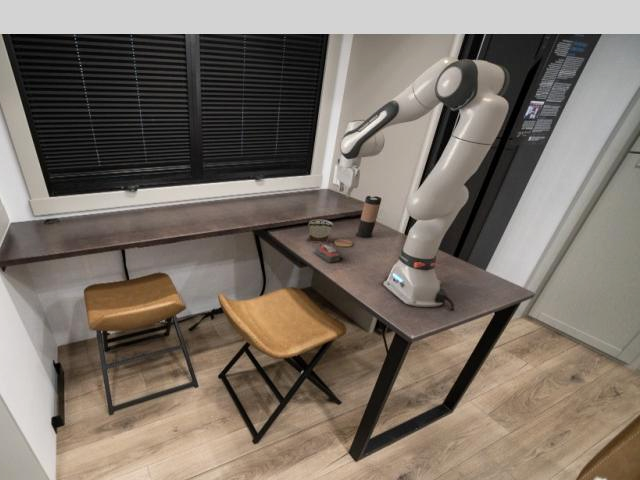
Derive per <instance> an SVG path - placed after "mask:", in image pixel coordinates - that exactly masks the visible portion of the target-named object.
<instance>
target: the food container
mask: <svg viewBox="0 0 640 480" xmlns="http://www.w3.org/2000/svg"><path fill="white" fill-rule="evenodd" d="M307 227H309V228H308V242H309V243H319V242H322V243H324V244H325V243H326V244H327V243H329V240H330V239H329V238H330V235H331V232H332V229H333V228H334V223H333V222H332V221H329V220H326V219H321V218H319V219H318V218H316V219H312V220H309V223H308V225H307Z"/></svg>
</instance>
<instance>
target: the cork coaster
mask: <svg viewBox="0 0 640 480" xmlns="http://www.w3.org/2000/svg"><path fill="white" fill-rule="evenodd" d="M333 243H334V245H336V246H338V247H341V248H350V247H352V246H353V241H350V240H349V239H344V238H337V239H334V241H333Z"/></svg>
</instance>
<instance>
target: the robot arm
mask: <svg viewBox="0 0 640 480" xmlns="http://www.w3.org/2000/svg"><path fill="white" fill-rule="evenodd" d="M510 80H511V78H510V73H509V71H508V70H507V68H505V67H504V66H502V65H501V64H497V63H492V62H489V61H486V60H482V59H470V58H469V59H467V58H465V59H458V58H456V57H454V56H445V57H443V58H441V59H439V60H438V61H436V62H435V63H434V64H433V65H431V66H430V67H429V68H427V69H426V70H425V71H424V72H423V73H421V74H420V75H419V76H418V77H417V78H416V79H415V80H414V81H413V82H411V83H410V84H409V85H408V86H407V87H406V88H405V89H404V90H402V91H401V92H400V93H399V94H398V95H396V96H395V97H393V98H392V99H391V100H390V101H388V102H387V103H385V104H384V105H383V106H381V107H380V108H379V109H377V110H376V111H375V112H373V113H372V114H371V115H370V116H369V117H368V118H366V119H357V120H352V121H350V122H349V123H348V124H347V126H346V129H345V131H344V135H343V137H342V138H341V140H340V144H339V151H340V154H341V155H340V156H339V157H338V158H337V161H336V162H337V165H336V166H337V167H336V176H335V177H336V180H337V181H338V185H339V187H338V191H339V192H340V193H341V192H344V191H345V186H346V187H347V188H346V189H347V190H346V191H345V197H347V198H350V197H351V194H352V192H353V190H354V189H358V187H359V185H360V179H361V178H360V177H361V170H360V169H359V168H360V167H361V162H362V158H368V157H369V158H370V157H375V156H377V155H379V154H380V153H381V152H382V151H383V149H384V147H385V136H384V134H383V132H381V131H382V130H384V129H386V128H388V127H391V126H394V125H398V124H405V123H410V122H415V121H417V120H419V119H421V118H422V117H425V116H426V115H427V114H428V113H430V112H431V111H432V110H434V109H435V108H436V107H438V105H440V104H441V103H442V104H443V105H445V106H446V107H447V108H448V109H450V110H451V112H457V111H459V115H460V116H459V120H458V122H457V125H456V127H455V128H454V130H453V132H452V134H451V136H450V138H449V140H448V142H447V144H446V146H445V148H444V150H443V152H442V154H441V156H440V157H439V159H438V161H437V162H436V164H435V166H433V168H432V170H431V171H430V172H429V174H428V175H427V177H426V178H425V180H424V181H423V182H422V184H421V185H420V186H419V187H418V189H416V190H415V192H414V193H412V194H411V195H410V197H409V198H408V200H407V203H406V210H407V213H408V215H409V216H410V217H411V219H414V220H415V223H414V224H413V225H412V226H411V227H410V229H409V231H408V233H407V235H406V238H405V242H404V245H403V248H401V250H400V251H399V255H398V260H397V262H396V263H395V264H394V265H393V267H392V268H391V271H390V272H389V276H388V277H387V280H385V281H383V286H384V287H386V289H388V290H389V291H390V292H391V293H392V294H394V295H395V296H396V297H397V298H398V299H399V300H401V301H402V302H403V303H404V304H406V305H409V306H412V307H419V308H435V307H440V306H442V305H443V304H444V303H445V302H446V301H447V302H448V303H449V305H450V311H455V305H454V302H453V300H452V298H450V297H448V294H447V292H446V290H445V289H443V288H441V286H440V285H441V284H442V283H441V282H442V281H441V280H440V279H438V276H437V273H436V271H435V267H437V265H438V262H437V253H438V251H439V249H440V246H441V243H442V241H443V239H444V237H445V235H446V233H447V231H448V230H449V229H450V227H451V225H452V224H453V222H454V221H455V219H456V217H457V216H458V214H459V212H460V211H461V210H462V208H463V207H464V206H465V205H466V203H467V202H468V200H469V198H470V197H469V196H470V192H469V190H468V187H467V186H466V185H465V184H466V182H468V180H469V179H470V178H471V177H472V176H473V175H474V174H475V173H476V172H477V171H478V169H479V167H480V166H481V164H482V162H483V161H484V159H485V157H486V156H487V154H488V152H489V150H490V149H491V147H492V145H493V144H494V142H495V141H496V138H497V137H498V135H499V133H500V130H501V129H502V126H503V124H504V121H505V120H506V117H507V114H508V111H509V106H510V105H509V102H508V101H507V99H506V98H504V97H503V96H504V94H505V93H506V91H507V90H508V87H509V85H510Z"/></svg>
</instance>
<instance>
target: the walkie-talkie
mask: <svg viewBox="0 0 640 480" xmlns="http://www.w3.org/2000/svg"><path fill="white" fill-rule="evenodd" d="M318 244H319V245H321V246H317V247H316V248H315V254H316V255H318V256H319V257H321V258H322V259H324V260H325V261H326V262H328V263H335V262H340V261H343V260H344V257H342V254H341V253H339V252H337V250H336V248H334V247H332V246H331V245H327V244H325V243H324V242H318Z"/></svg>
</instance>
